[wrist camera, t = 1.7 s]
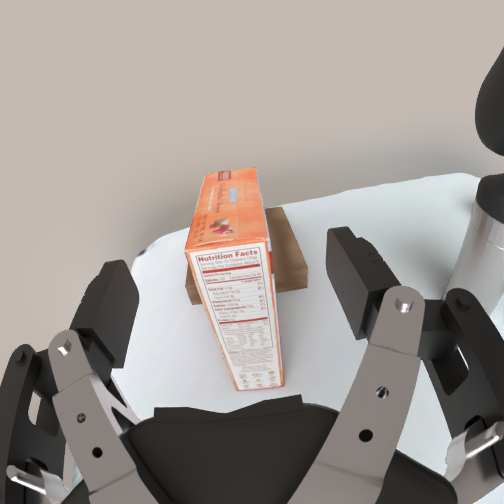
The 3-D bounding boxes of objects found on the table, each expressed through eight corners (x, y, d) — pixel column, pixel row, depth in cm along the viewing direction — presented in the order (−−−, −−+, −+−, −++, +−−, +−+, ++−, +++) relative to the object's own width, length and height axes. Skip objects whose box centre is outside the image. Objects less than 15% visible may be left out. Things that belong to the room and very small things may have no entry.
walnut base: (283, 223, 59) (281, 206, 56) (307, 287, 42) (307, 267, 40) (198, 236, 58) (194, 220, 56) (192, 304, 42) (185, 286, 40)
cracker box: (233, 308, 41) (203, 172, 29) (273, 303, 41) (259, 164, 28) (233, 393, 29) (178, 246, 17) (285, 388, 29) (274, 234, 17)
